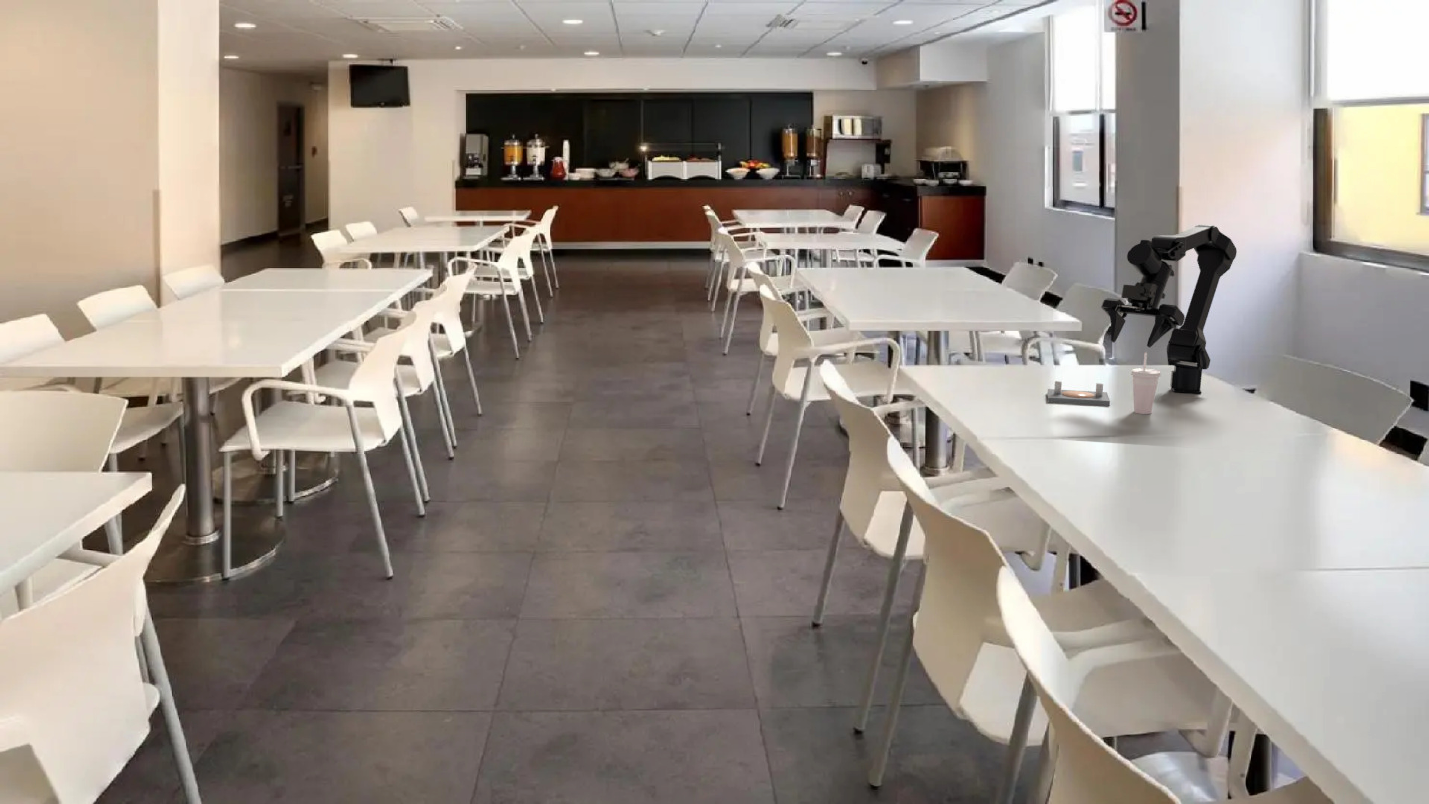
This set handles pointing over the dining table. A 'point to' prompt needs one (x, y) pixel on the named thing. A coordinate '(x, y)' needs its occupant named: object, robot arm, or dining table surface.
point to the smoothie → (1144, 388)
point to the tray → (1078, 396)
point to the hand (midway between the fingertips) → (1130, 344)
